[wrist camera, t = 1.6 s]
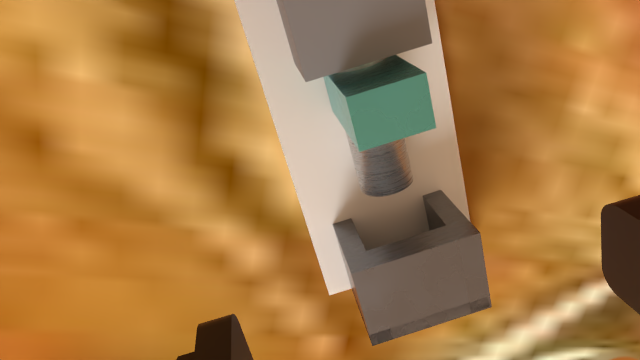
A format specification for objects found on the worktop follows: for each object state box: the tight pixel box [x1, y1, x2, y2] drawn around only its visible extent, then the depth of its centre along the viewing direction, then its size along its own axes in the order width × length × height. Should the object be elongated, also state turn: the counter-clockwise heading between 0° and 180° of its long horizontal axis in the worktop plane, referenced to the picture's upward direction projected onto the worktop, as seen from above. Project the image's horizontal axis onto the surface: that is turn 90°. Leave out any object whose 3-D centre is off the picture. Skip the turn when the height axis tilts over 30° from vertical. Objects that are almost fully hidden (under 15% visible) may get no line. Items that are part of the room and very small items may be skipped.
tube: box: [323, 55, 436, 197], centre depth 24 cm, size 14×4×7 cm, turn 15°
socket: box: [333, 190, 492, 346], centre depth 30 cm, size 5×7×6 cm
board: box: [234, 0, 470, 295], centre depth 27 cm, size 22×10×6 cm, turn 15°
